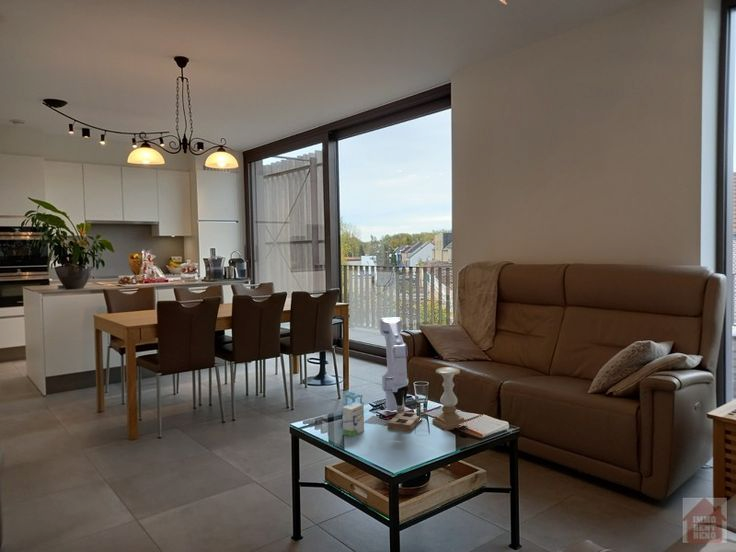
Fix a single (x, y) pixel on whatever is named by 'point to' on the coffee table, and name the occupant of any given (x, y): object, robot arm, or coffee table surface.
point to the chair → (352, 396)
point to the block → (403, 421)
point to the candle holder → (448, 401)
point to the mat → (376, 420)
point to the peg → (401, 407)
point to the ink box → (353, 419)
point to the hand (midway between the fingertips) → (401, 404)
